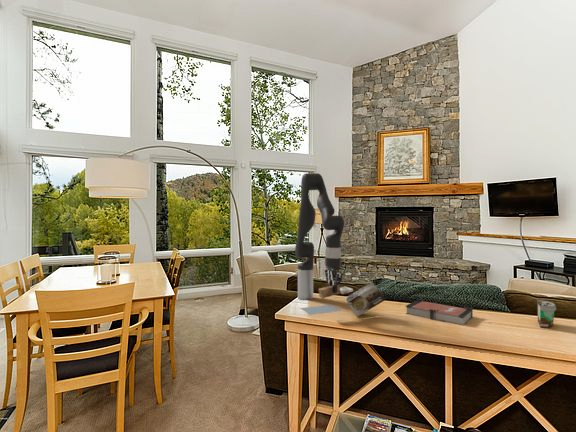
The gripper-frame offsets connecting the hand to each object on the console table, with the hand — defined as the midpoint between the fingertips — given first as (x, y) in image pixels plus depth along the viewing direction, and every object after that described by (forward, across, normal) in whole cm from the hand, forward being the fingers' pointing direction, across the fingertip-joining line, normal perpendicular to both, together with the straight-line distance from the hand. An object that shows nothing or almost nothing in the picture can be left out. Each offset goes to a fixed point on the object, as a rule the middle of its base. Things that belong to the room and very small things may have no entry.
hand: (333, 291), depth 161 cm
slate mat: (+12, -12, -1) cm, 17 cm away
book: (+13, +17, +49) cm, 54 cm away
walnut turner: (+1, 0, +1) cm, 2 cm away
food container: (+12, +47, +83) cm, 96 cm away
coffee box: (+8, +2, +9) cm, 12 cm away
